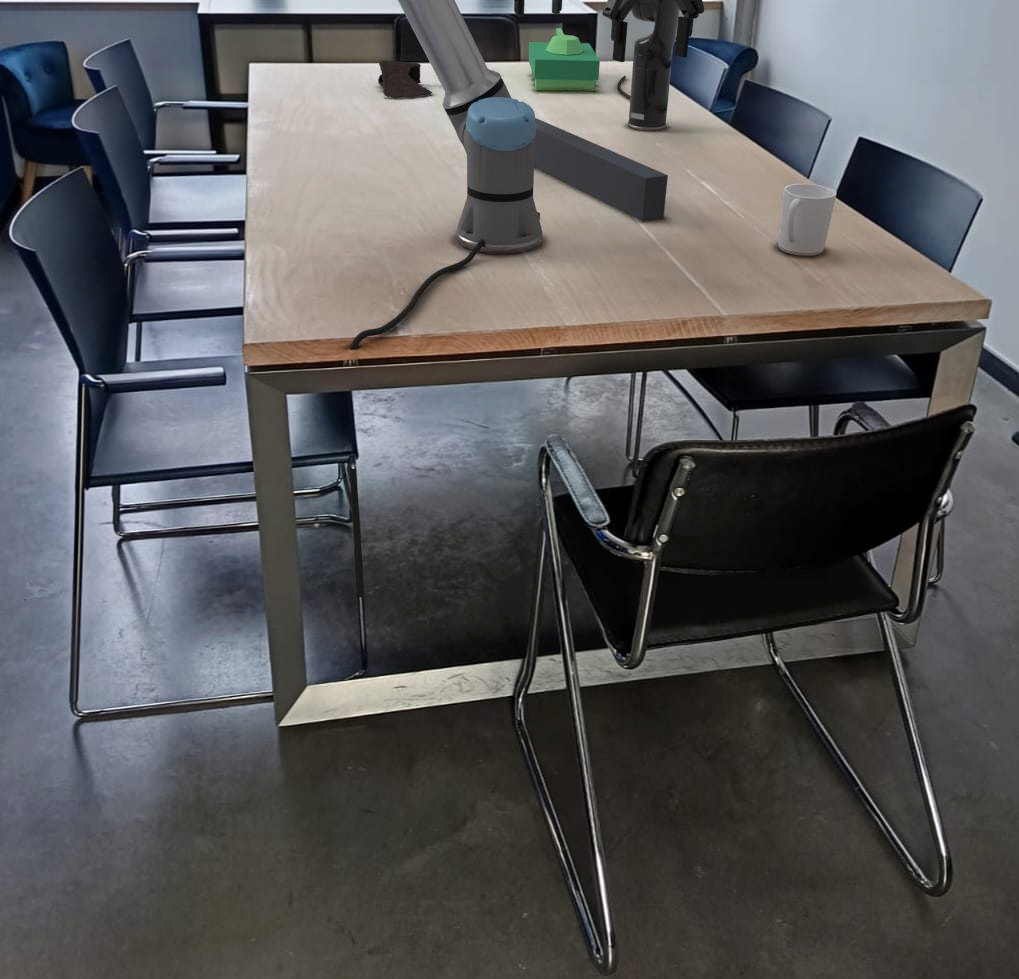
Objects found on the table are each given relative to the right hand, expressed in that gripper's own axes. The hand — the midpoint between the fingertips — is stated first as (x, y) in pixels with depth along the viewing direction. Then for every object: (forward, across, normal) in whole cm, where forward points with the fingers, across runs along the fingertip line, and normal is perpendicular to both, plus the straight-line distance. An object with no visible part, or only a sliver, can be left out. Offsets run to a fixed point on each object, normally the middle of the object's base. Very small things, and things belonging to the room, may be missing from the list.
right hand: (537, 15), depth 225 cm
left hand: (+2, 0, +40) cm, 41 cm away
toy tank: (+30, -51, -73) cm, 94 cm away
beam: (+30, 0, +20) cm, 36 cm away
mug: (+30, -13, +71) cm, 78 cm away
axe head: (+30, -4, -78) cm, 83 cm away
